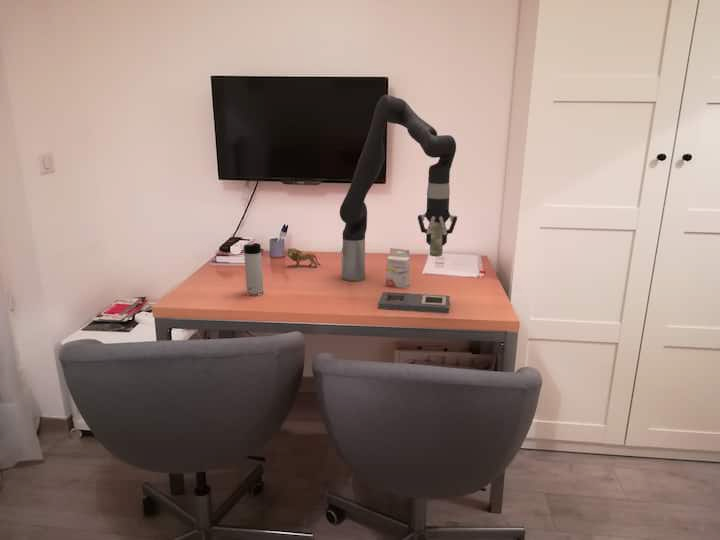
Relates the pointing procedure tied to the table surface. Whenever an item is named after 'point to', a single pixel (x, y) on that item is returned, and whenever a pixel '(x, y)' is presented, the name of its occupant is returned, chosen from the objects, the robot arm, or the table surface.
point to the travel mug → (253, 269)
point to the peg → (436, 240)
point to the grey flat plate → (415, 302)
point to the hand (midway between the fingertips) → (436, 244)
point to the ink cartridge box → (398, 268)
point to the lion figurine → (301, 257)
